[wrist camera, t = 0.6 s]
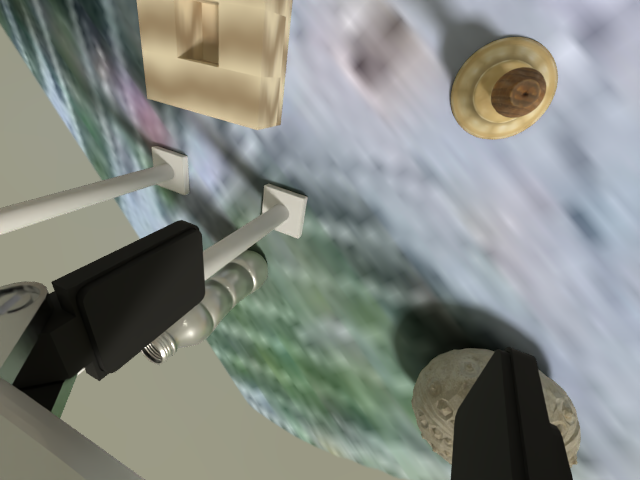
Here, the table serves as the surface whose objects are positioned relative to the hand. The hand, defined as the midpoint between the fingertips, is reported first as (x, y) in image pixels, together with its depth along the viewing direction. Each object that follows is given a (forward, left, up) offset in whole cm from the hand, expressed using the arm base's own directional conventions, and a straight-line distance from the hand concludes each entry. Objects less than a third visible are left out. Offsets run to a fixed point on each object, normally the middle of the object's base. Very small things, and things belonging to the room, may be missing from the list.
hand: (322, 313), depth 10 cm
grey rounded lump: (+28, +17, -29) cm, 43 cm away
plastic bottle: (+24, -20, -29) cm, 42 cm away
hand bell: (-6, +4, -29) cm, 30 cm away
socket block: (-6, -26, -28) cm, 39 cm away
